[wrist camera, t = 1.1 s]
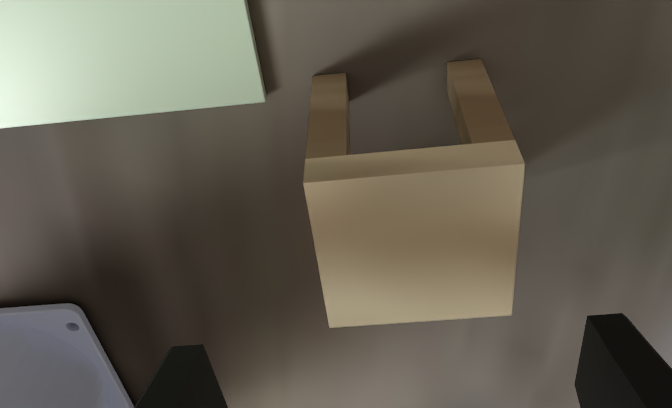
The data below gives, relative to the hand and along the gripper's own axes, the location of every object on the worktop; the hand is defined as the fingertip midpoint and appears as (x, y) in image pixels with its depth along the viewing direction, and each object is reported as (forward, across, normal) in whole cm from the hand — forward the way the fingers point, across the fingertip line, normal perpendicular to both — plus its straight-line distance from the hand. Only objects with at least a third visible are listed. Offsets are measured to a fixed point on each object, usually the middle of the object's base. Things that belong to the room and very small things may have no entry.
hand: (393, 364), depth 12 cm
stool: (+10, -1, +1) cm, 10 cm away
